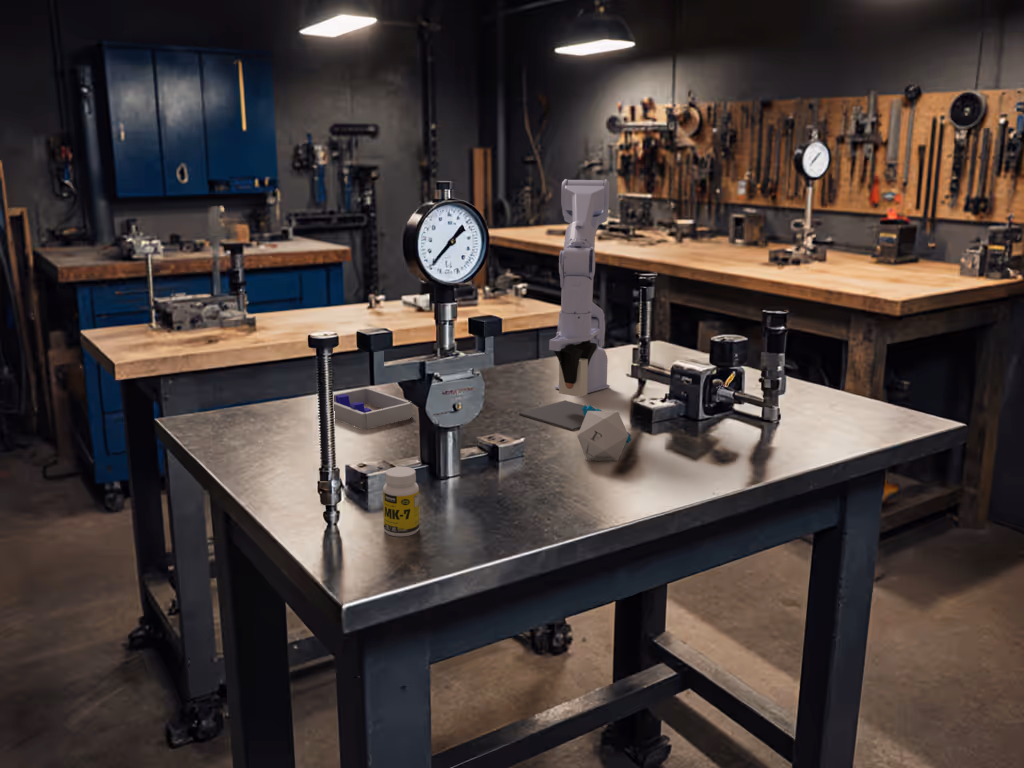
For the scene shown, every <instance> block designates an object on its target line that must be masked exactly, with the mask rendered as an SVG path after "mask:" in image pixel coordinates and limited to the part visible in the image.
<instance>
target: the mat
mask: <svg viewBox="0 0 1024 768" xmlns="http://www.w3.org/2000/svg"><path fill="white" fill-rule="evenodd" d="M586 406H587V407H588V406H589V405H586ZM583 407H584V405H583V404H580V403H576V402H572V401H570V400H562V401H558V402H554V403H550V404H546V405H543V406H539V407H535V408H532V409H527V410H524V411H520V412H519V413H518V414H519V416H522V417H526V418H529V419H532V420H536V421H539V422H541V423H545V424H549V425H552V426H555V427H558V428H561V429H565V430H569V431H571V432H572V431H573V432H574V431H576V430H580V428H581V426H582V423H583V420H584V418H585V415H584V414H583V412H584V411H583V410H582V408H583ZM593 408H594V407H593ZM594 409H595V410H596V409H597V408H594Z"/></svg>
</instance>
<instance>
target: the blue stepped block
mask: <svg viewBox="0 0 1024 768" xmlns="http://www.w3.org/2000/svg"><path fill="white" fill-rule="evenodd" d="M336 403H339V404H342V405H344V406H347V407H350V408H352V409H355V410H358V411H361V412H363V413H366V412H370V411H373V409H371V408H368V407H365V403H362V402H356V403H351V405H350V401H349V396H348V395H346V394H344V395H338V396H336Z"/></svg>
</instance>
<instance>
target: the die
mask: <svg viewBox="0 0 1024 768" xmlns="http://www.w3.org/2000/svg"><path fill="white" fill-rule="evenodd" d="M628 433H629V432H628V430H627V428H626V426H625V423H624V421H623V419H622V417H621V415H620V413H619V411H616V410H615V411H610V410H608V411H606V410H602V411H587V413H586V416H585V418H584V421H583V423H582V426H581V428H580V429H579V431H578V434H577V439H578V441H579V443H580V447H581V449H582V451H583V454H584V456H585V458H586V461H599V462H600V461H606V462H607V461H611V462H617V461H619V459H620V457H621V455H622V452H623V450H624V448H625V445H626V444H627V443H626V441H627V439H628V436H629V435H628Z"/></svg>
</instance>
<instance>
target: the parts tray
mask: <svg viewBox="0 0 1024 768" xmlns="http://www.w3.org/2000/svg"><path fill="white" fill-rule="evenodd" d="M333 394H334V411H335V420H336V419H337V421H339V422H341V423H345V424H346V425H349V426H352V427H354V426H355V427H354V428H356V427H357V429H359V428H360V429H359V430H362V431H363V429H364V430H370V428H371V429H375V428H379V427H383V426H387V425H390V424H389V423H391V424H394V422H395V423H398V421H399V422H403V421H406V420H410V418H411V417H412V418H414V409H413V408H414V405H413V404H414V403H413V404H411V403H410V402H411V401H410V402H408V401H409V400H408V399H404V398H400V397H399V396H398V397H397V396H395V395H392V394H390V393H386V392H383V391H380V390H377V389H373V388H372V387H371V388H370V387H362V388H356V389H353V390H348V391H343V392H337V393H333ZM344 394H346V395H348V396H349V401H350V405H351V403H356V402H362V403H364V404H369V405H371V406H374V407H377V408H379V409H375V410H372V411H370V412H366V413H363V412H361V411H358V410H355V409H352V408H350V407H347V406H344V405H342V404H339V403H336V396H338V395H344ZM382 408H383V409H382ZM412 418H411V419H412ZM402 420H403V421H402ZM386 424H387V425H386ZM382 425H383V426H382ZM378 426H379V427H378ZM374 427H375V428H374Z"/></svg>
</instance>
